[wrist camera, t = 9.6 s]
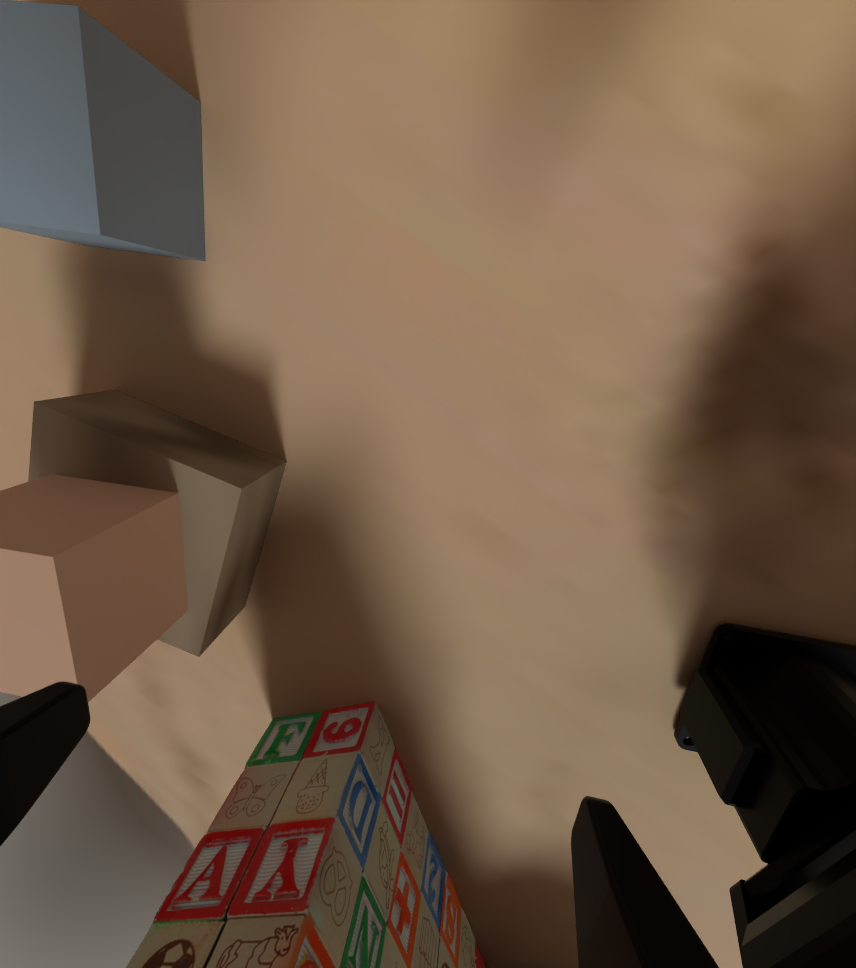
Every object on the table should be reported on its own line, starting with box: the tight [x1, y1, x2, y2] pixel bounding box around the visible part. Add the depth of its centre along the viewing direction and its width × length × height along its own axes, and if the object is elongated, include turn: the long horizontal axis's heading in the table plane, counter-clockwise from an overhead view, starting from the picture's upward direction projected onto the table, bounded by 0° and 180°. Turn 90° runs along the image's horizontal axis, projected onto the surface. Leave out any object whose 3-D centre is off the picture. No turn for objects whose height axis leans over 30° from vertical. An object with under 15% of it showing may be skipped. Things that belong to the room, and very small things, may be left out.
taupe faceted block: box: [28, 390, 287, 657], centre depth 19 cm, size 8×8×4 cm
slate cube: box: [0, 0, 205, 261], centre depth 14 cm, size 5×5×5 cm
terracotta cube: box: [0, 474, 188, 702], centre depth 15 cm, size 5×5×5 cm
